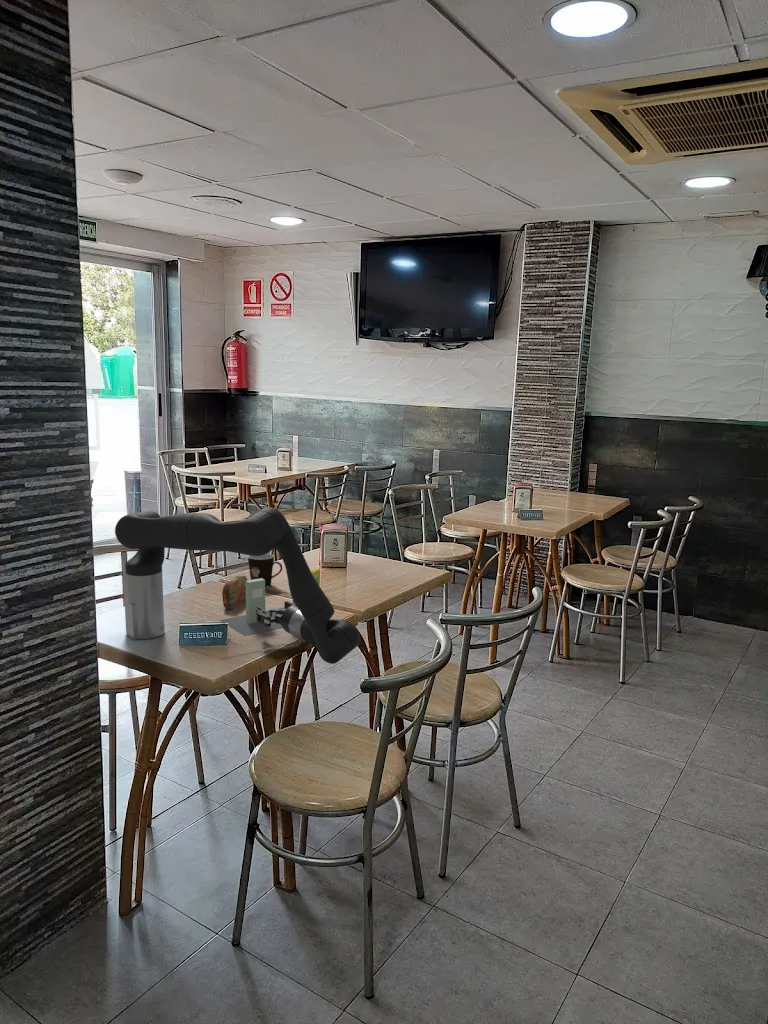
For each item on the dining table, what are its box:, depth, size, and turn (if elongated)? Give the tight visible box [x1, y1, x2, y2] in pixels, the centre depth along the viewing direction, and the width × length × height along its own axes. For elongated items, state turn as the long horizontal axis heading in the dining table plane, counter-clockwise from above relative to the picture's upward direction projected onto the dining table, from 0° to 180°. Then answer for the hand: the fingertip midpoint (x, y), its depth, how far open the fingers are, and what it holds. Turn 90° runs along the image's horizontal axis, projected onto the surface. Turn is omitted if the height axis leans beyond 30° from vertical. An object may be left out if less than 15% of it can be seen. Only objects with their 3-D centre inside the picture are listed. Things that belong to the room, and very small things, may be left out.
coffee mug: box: [247, 553, 283, 588], centre depth 243 cm, size 12×9×10 cm
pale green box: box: [245, 578, 266, 624], centre depth 205 cm, size 5×2×12 cm, turn 127°
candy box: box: [292, 568, 321, 604], centre depth 229 cm, size 16×2×8 cm, turn 161°
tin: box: [221, 575, 249, 610], centre depth 222 cm, size 15×3×8 cm, turn 168°
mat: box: [218, 607, 285, 637], centre depth 208 cm, size 26×16×1 cm, turn 127°
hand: (271, 607), depth 198 cm, fingers open, 8 cm apart
